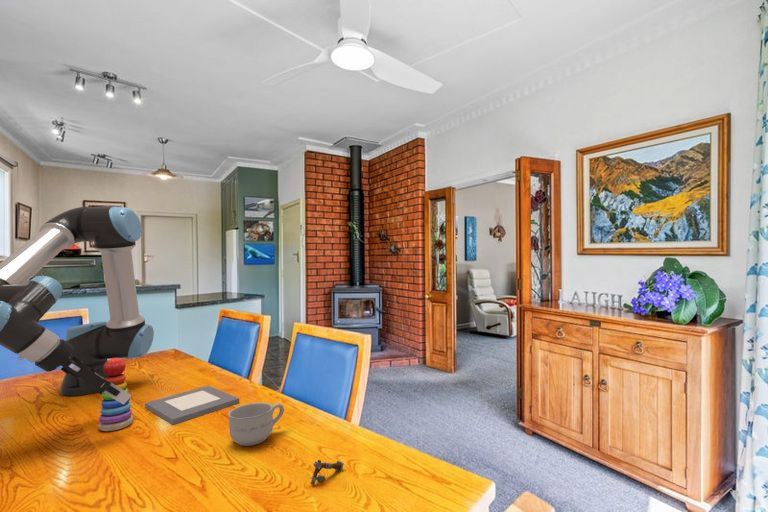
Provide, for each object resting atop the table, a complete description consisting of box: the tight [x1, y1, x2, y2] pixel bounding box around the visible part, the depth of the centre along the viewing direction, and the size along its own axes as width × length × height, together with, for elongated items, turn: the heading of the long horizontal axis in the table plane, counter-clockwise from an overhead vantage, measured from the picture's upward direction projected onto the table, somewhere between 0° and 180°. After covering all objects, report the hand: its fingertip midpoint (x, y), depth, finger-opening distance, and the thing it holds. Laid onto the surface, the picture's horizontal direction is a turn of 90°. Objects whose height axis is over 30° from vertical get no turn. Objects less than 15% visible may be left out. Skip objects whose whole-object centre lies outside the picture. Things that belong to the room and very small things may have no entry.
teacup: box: [227, 402, 285, 447], centre depth 98 cm, size 14×11×8 cm
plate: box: [144, 385, 240, 426], centre depth 121 cm, size 20×20×2 cm
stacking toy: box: [98, 358, 134, 432], centre depth 107 cm, size 8×8×19 cm
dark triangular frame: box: [310, 459, 344, 486], centre depth 81 cm, size 2×8×4 cm, turn 140°
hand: (118, 394), depth 107 cm, fingers open, 13 cm apart
